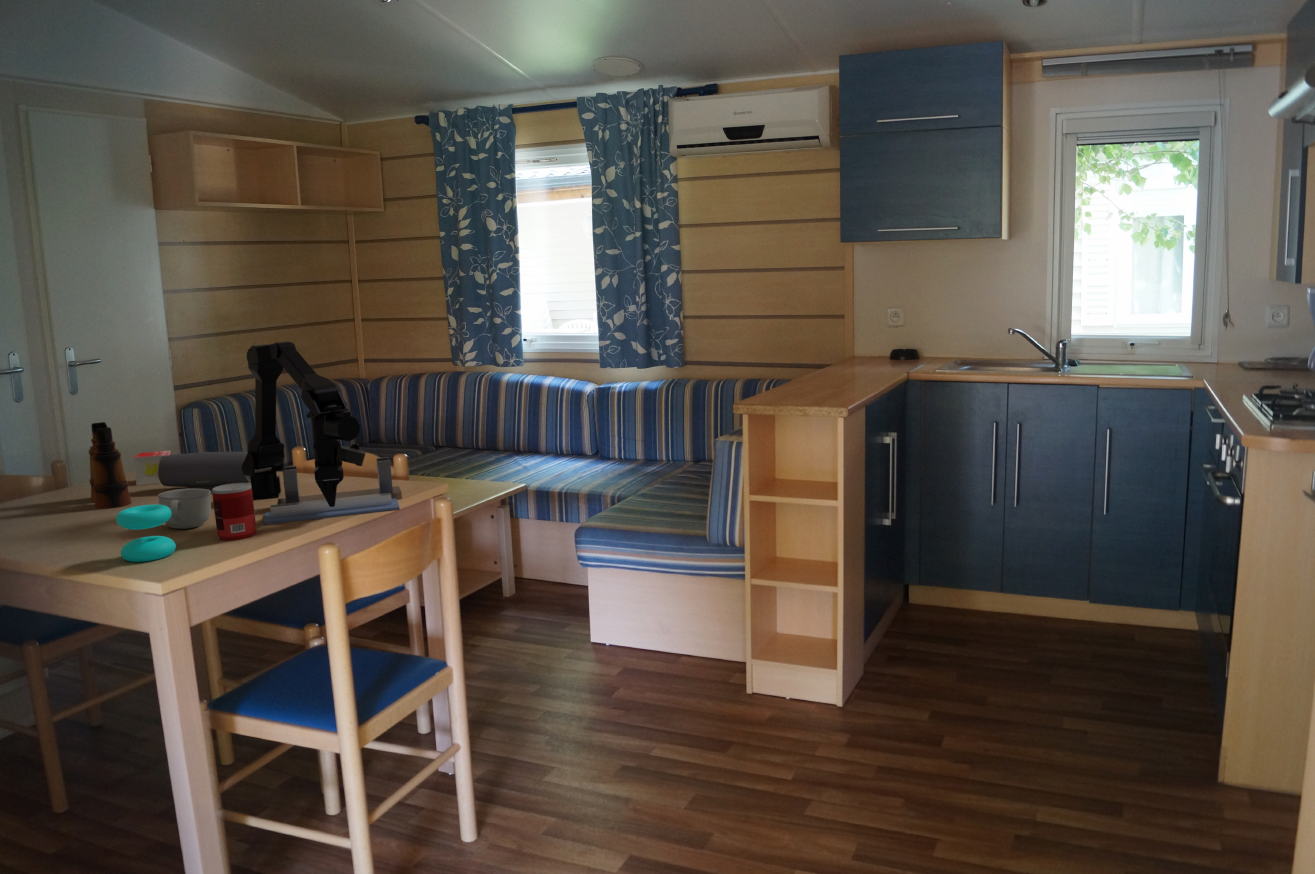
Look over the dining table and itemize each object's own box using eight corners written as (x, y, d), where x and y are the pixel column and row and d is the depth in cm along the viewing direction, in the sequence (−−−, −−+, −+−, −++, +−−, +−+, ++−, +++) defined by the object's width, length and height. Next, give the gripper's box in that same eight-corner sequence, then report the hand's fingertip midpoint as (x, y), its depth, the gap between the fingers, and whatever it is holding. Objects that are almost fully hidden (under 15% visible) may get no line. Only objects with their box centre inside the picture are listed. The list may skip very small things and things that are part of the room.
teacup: (177, 520, 230) (173, 487, 228) (222, 519, 229) (218, 485, 228) (145, 536, 216) (140, 501, 215) (193, 535, 216) (188, 499, 214)
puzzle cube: (136, 485, 273) (132, 457, 272) (143, 479, 281) (140, 452, 279) (167, 482, 275) (164, 455, 274) (174, 477, 282) (170, 450, 281)
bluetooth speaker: (258, 482, 270) (254, 447, 268) (245, 490, 261) (241, 453, 259) (175, 486, 269) (171, 450, 268) (159, 494, 260) (154, 457, 258)
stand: (277, 511, 234) (273, 472, 233) (278, 504, 242) (274, 466, 240) (402, 498, 243) (398, 460, 242) (399, 491, 251) (396, 455, 249)
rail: (271, 517, 226) (270, 507, 226) (271, 515, 229) (270, 505, 228) (391, 504, 235) (391, 494, 234) (391, 502, 237) (390, 492, 237)
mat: (263, 524, 222) (263, 522, 222) (265, 514, 232) (265, 512, 232) (399, 509, 232) (399, 506, 232) (396, 500, 241) (396, 498, 241)
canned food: (264, 532, 216) (259, 483, 214) (238, 541, 208) (232, 491, 207) (236, 530, 218) (230, 482, 216) (209, 540, 211) (203, 490, 209)
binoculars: (89, 498, 258) (79, 423, 255) (124, 493, 263) (114, 419, 260) (96, 510, 243) (85, 431, 240) (133, 505, 248) (123, 427, 245)
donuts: (181, 503, 202) (147, 515, 192) (187, 549, 204) (153, 564, 194) (139, 502, 204) (103, 514, 194) (145, 549, 206) (110, 563, 196)
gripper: (363, 440, 222) (369, 507, 225) (359, 428, 240) (365, 490, 243) (311, 444, 219) (318, 512, 222) (311, 432, 236) (318, 495, 239)
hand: (332, 502), depth 231 cm, fingers open, 9 cm apart
